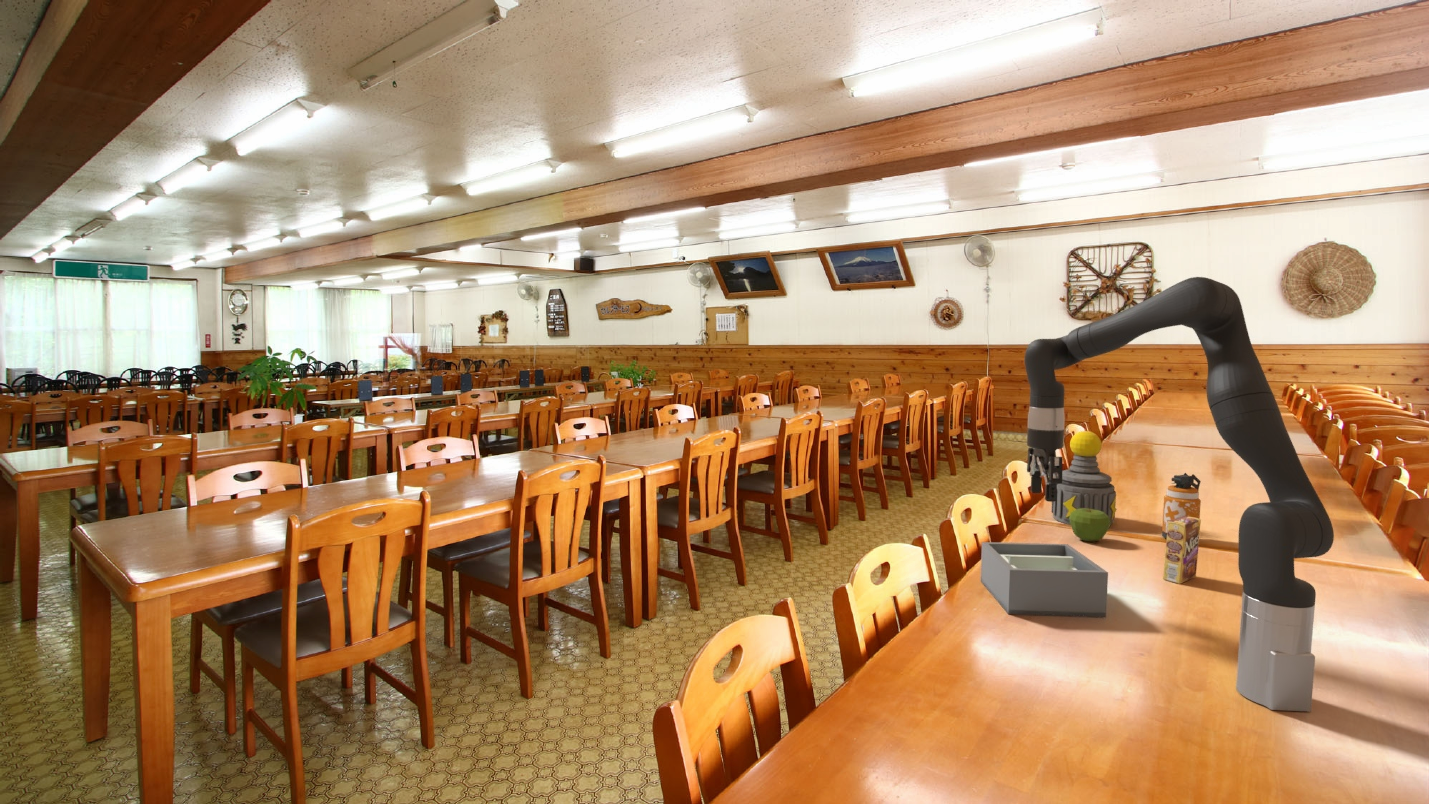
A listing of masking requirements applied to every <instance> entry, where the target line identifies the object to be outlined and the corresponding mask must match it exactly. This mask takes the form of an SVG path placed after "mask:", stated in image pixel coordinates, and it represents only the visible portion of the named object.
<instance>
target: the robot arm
mask: <svg viewBox="0 0 1429 804" xmlns="http://www.w3.org/2000/svg"><path fill="white" fill-rule="evenodd" d="M1175 326H1177V327H1178V326H1184V327H1186V328H1190V329H1192V330H1193V331H1194V333H1195V334H1196V336H1197V338H1198V340H1199V341H1200V345H1201V347H1202V349H1203V351H1204V354H1205V358H1206V362H1207V380H1206V399H1207V405H1208V407H1209V409H1210V413H1211V416H1212V419H1213V421H1214V424H1215V427H1216V429H1217V432H1218V434H1219V436H1220V437H1221V438H1222V439H1223V441H1224V442H1225V443H1226V444H1227V445H1228V447H1230V449H1231V450H1232V451H1233V452H1234V453H1235V454H1236V455H1237V456H1238V457H1239V458H1240V459H1242V460H1243V461H1244V462H1245V463H1246V464H1247V465H1248V466H1249V468H1251V469H1252V470H1253V472H1254V473H1255V474H1256V475H1257V477H1258V478H1259V480H1260V481H1261V483H1262V485H1263V487H1264V489H1265V491H1266V494H1267V496H1268V497H1267V498H1268V499H1269V500H1268V501H1269V502H1258V503H1253V504H1251V505H1250V506H1248V507H1246V509H1245V510H1244V511H1243V513H1242V514H1241V518H1240V520H1239V524H1238V526H1239V527H1238V572H1239V576H1240V579H1241V582H1242V596H1241V609H1240V610H1241V612H1240V623H1239V625H1240V626H1239V639H1238V640H1239V641H1238V653H1237V669H1236V670H1237V671H1236V672H1237V673H1236V682H1235V683H1236V685H1235V687H1236V691H1237V692H1238V694H1240V695H1242V696H1243V697H1244V698H1246V699H1248V700H1250V701H1252V702H1254V703H1257V704H1260V705H1261V706H1264V707H1266V708H1267V709H1269V710H1271V711H1292V712H1294V711H1295V712H1311V711H1312V704H1313V703H1312V702H1313V689H1314V676H1315V664H1316V656H1315V655H1314V654H1313V653H1312V646H1313V645H1312V644H1313V633H1314V631H1313V630H1314V622H1315V621H1314V618H1315V607H1316V595H1317V594H1316V588H1315V587H1314V585H1312V584H1311V583H1309V582H1307V581H1306V580H1304V579H1300V578H1298V577H1296V575H1295V559H1307V558H1309V559H1310V558H1316V557H1321V556H1323V555H1326V554H1327V553H1328V552H1329V551H1330V549H1331V548H1332V546H1333V543H1334V540H1335V539H1334V538H1335V534H1334V532H1335V531H1334V527H1333V524H1332V520H1331V518H1330V516H1329V514H1328V512H1327V510H1326V508H1325V506H1324V504H1323V502H1322V501H1321V499H1320V497H1319V495H1318V493H1317V492H1316V489H1315V487H1314V485H1313V484H1312V482H1311V480H1310V478H1309V477H1308V475H1307V473H1306V471H1305V469H1304V467H1303V464H1302V462H1301V460H1300V457H1299V455H1298V453H1297V451H1296V448H1295V446H1294V443H1293V441H1292V439H1291V437H1290V435H1289V432H1288V430H1287V427H1286V424H1285V422H1284V419H1283V416H1282V413H1281V410H1280V407H1279V406H1278V405H1279V404H1278V403H1277V400H1276V398H1275V395H1274V392H1273V391H1272V389H1271V386H1270V384H1269V382H1268V380H1267V377H1266V375H1265V372H1264V369H1263V368H1262V365H1261V363H1260V360H1259V358H1258V356H1257V354H1256V352H1255V350H1254V347H1253V345H1252V343H1251V339H1250V336H1249V331H1248V327H1247V322H1246V318H1245V314H1244V310H1243V306H1242V303H1241V299H1240V297H1239V296H1238V293H1236V291H1235V290H1234V289H1233V288H1231V286H1228V285H1227V284H1225V283H1224V282H1223V283H1222V282H1220V281H1217V280H1215V279H1212V278H1208V277H1203V276H1194V277H1193V276H1192V277H1189V278H1186V279H1184V280H1182V281H1180V282H1177V283H1175V284H1173V285H1172V286H1170V287H1167V288H1165V289H1164V290H1162V291H1161V292H1159V293H1156V294H1155V295H1153V296H1151V297H1149V298H1147V299H1145V300H1143V301H1141V302H1139V303H1136V304H1135V305H1133V306H1131V307H1128V308H1126V309H1124V310H1121V311H1120V312H1117V313H1114V314H1112V315H1110V316H1107V317H1104V318H1102V319H1098V320H1095V321H1093V322H1089V323H1086V324H1084V325H1081V326H1078V327H1077V328H1074V329H1072V330H1071V331H1069V332H1068V334H1067V335H1063V336H1061V337H1057V338H1038V339H1034V340H1033V341H1031V342H1030V343H1029V344H1028V346H1027V347H1026V350H1025V353H1024V366H1025V371H1026V377H1027V381H1028V384H1029V389H1030V390H1029V409H1028V415H1027V432H1026V433H1027V434H1026V445H1027V447H1028V448H1027V464H1026V472H1027V473H1029V476H1030V492H1031V493H1032V494H1041V493H1042V491H1043V490H1042V487H1043V486H1042V485H1043V479H1044V482H1045V485H1044V486H1045V488H1044V501H1046V502H1050V503H1052V502H1055V501H1056V495H1057V485H1058V484H1062V471H1063V460H1064V459H1063V457H1062V456H1057V453H1056V451H1057V450H1061V449H1063V448H1064V444H1065V443H1064V441H1065V422H1066V421H1065V420H1066V419H1065V417H1066V416H1065V386H1064V384H1063V383H1062V382H1060V381H1059V380H1057V378H1056V377H1057V376H1056V372H1055V370H1056V371H1057V370H1060V369H1066V368H1069V367H1071V366H1073V365H1076V364H1078V363H1081V362H1082V361H1085V360H1086V359H1090V358H1094V357H1097V356H1101V355H1104V354H1107V353H1111V352H1113V351H1116V350H1118V349H1120V348H1123V347H1124V346H1126V345H1127V344H1129V343H1131V342H1132V341H1134V340H1135V339H1137V338H1139V337H1140V336H1143V335H1144V334H1147V333H1149V332H1153V331H1155V330H1159V329H1164V328H1170V327H1175Z"/></svg>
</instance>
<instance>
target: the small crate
mask: <svg viewBox="0 0 1429 804" xmlns="http://www.w3.org/2000/svg"><path fill="white" fill-rule="evenodd" d="M1000 555H1001V554H1000ZM1001 556H1002V557H1003V558H1004V559H1005V560H1006V561H1007V562H1008V563H1009V564H1010V565H1011V566H1012V567H1013V568H1024V569H1062V570H1077V569H1076V568H1075V567H1073V557H1072V556H1041V555H1001Z"/></svg>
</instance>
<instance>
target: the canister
mask: <svg viewBox="0 0 1429 804" xmlns="http://www.w3.org/2000/svg"><path fill="white" fill-rule="evenodd" d="M1201 481H1202V480H1201V479H1200V478H1198V477H1197V476H1196V475H1195V474H1191V475H1188V473H1186V472H1185V473H1183V474H1179V475H1178V474H1175V475H1174V476H1173V477H1171V482H1172V483H1171V485H1169V486H1168V487H1167V488H1166V495H1163V509H1162V511H1163V512H1162V529H1161V530H1162V532H1161V537H1163V538H1164V539H1166V540H1167V529H1168V521H1169V520H1173V519H1176V518H1179V517H1182V516H1188V517H1194V518H1198V519H1201V505H1202V504H1201V503H1202V501H1201V499H1200V498H1199V497H1200V496H1199V495H1200V492H1199V491H1200V490H1199V489H1200V485H1201ZM1196 483H1197V484H1196ZM1174 484H1175V485H1174Z"/></svg>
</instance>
